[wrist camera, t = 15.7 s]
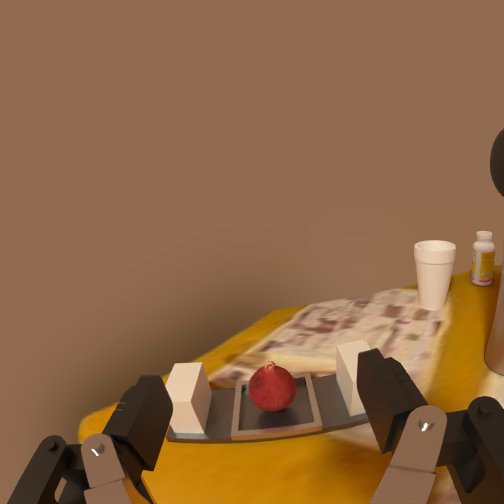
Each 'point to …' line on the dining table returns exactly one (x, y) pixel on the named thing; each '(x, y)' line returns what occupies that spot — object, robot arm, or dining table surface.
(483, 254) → the supplement bottle
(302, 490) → the dining table surface
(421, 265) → the foam cup
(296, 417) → the mounting plate
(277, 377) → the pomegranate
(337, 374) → the mounted modules
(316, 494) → the dining table surface
